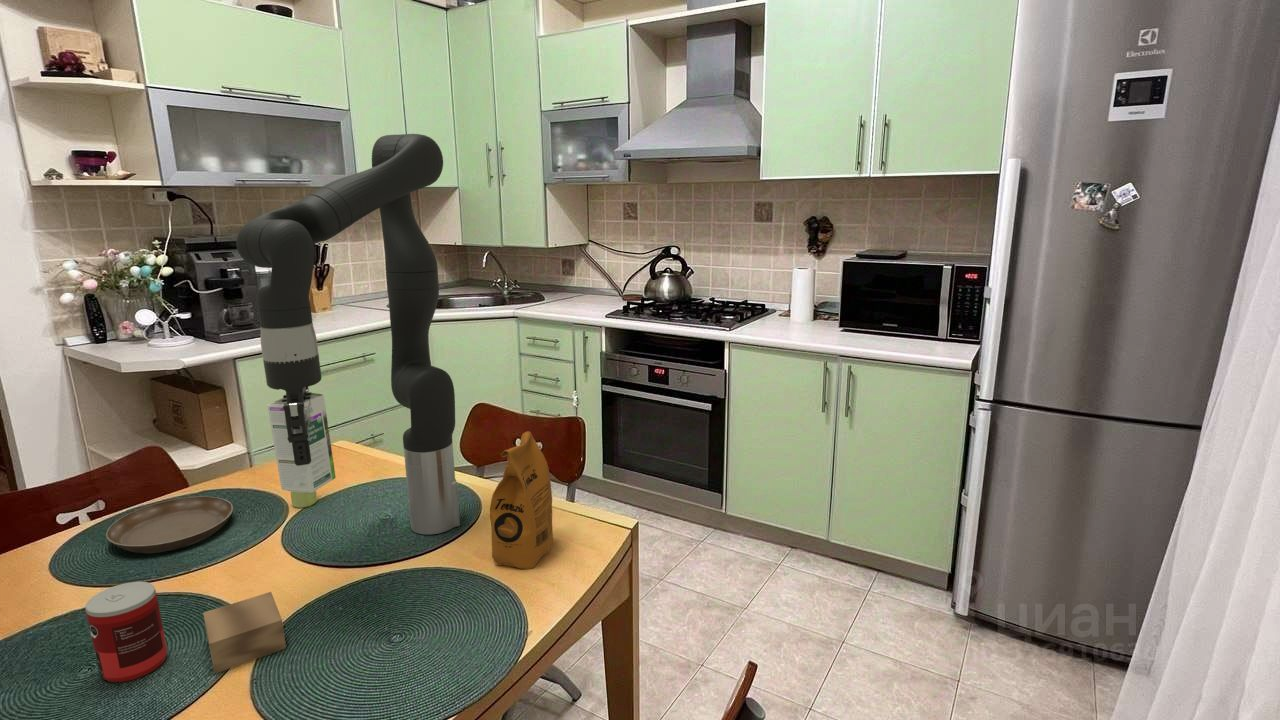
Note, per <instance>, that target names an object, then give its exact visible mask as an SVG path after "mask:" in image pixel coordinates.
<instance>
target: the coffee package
mask: <svg viewBox="0 0 1280 720" xmlns="http://www.w3.org/2000/svg"><path fill="white" fill-rule="evenodd" d="M500 457H501V458H506V461H507V463H508V464H507V465H506V466H505V469H504V472H503V475H502V479H501V480H500V481H499V482H498V483H497V486H496V488H495V489H494V491H493V493H492V496H491V500H490V506H489V520H490V521H489V523H490V529H491V558H492V560H493V561H494V563H495V564H496V565H498V566H502V565H504V566H508V567H511V568H512V567H513V568H516V569H519V570H522V569H525V570H529V569H530V570H531V569H533V568H535V567H536V565H537V564H538V563H539V561H540V559H541V558H542V557H544V556H546V555H547V554H549V552H550V550H551V546H552V544H553V542H554V533H553V492H552V484H551V476H550V469H549V464H548V461H547V459H546V458H545V455H544V453H543V452H542V450H541V449H540V447H539V444H538V443H537V441H536V439H534V437H533V435H532V433H531V431H529V430H528V431H525V432H523V433H522V435H521V436H520V442H519V445H517V446H513V447H510V448H509V449H508V448H507V449H505V450H503V452H502V453H501V454H500Z"/></svg>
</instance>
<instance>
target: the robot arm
mask: <svg viewBox="0 0 1280 720" xmlns="http://www.w3.org/2000/svg"><path fill="white" fill-rule="evenodd" d="M443 168H444V156H443V153H442V150H441V148H440V146H439V145H438V143H437V142H436V141H435V140H434V139H433V138H431V137H430V136H427V135H425V134H420V133H404V134H386V135H383V136H380V137H378V138H377V140H376V141H375V142H374V144H373V147H372V151H371V167H370V168H368V169H365V170H363V171H360V172H359V171H358V172H357V173H353V174H350V175H347V176H344V177H341V178H338V179H336V180H333V181H332V182H329V183H326V184H324V185H323V186H321V187H319V188H316V189H315V190H313V191H312V192H310V193H309V194H306V195H305V196H303V197H302V198H300V199H299V200H297V201H295V202H293V203H290V204H288V205H285V206H281V207H278V208H276V209H273V210H270V211H268V212H265V213H263V214H260V215H258V216H256V217H254V218H252V219H251V220H249V221H247V222H246V223H245V224H244V225H243V226H242V227H241V229H240V230H239V232H238V233H237V237H236V244H235V245H236V249H237V252H238V255H239V256H240V257H241V258H242V260H244V261H245V262H246V263H247V264H250V265H252V266H253V267H258V268H264V269H265V268H266V269H271V272H270V282H269V284H268V285H265V286H263V287H261V288H259V289H258V291H257V293H256V308H257V314H258V321H259V326H260V328H259V329H260V347H261V354H262V362H263V368H264V374H265V380H266V386H267V387H268V388H270V389H273V390H278V391H279V390H283V391H285V394H283V396H282V398H283V400H282V402H287V403H284V406H283V407H282V408H283V409H284V414H285V425H286V427H287V432H288V441H289V443H292V447H293V454H294V461H295V464H296V465H297V466H300V465H306V464H310V463H311V454H310V447H309V438H310V436H309V434H308V427H309V426H310V425H311V415H310V406H311V396H309V397H305V396H306V395H311V394H312V393H313V392H311V391H310V390H309V387H312V386H315V385H317V384H318V383H320V382H321V381H322V370H321V363H320V362H321V361H320V356H319V355H320V354H319V348H318V341H317V339H318V338H317V333H316V330H315V328H314V324H313V322H314V321H313V316H312V309H311V301H310V292H311V287H312V280H313V273H314V266H315V255H316V254H315V252H316V251H315V243H321V242H326V241H328V240H330V239H332V238H334V237H335V236H337V235H338V234H340V233H341V232H342V231H344V230H345V229H347V228H349V227H351V226H352V225H353V224H355V223H356V222H358V221H359V220H361V219H363V218H364V217H366V216H367V215H369V214H371V213H373V212H374V211H376V210H378V209H379V212H380V213H379V214H380V220H381V221H380V222H381V228H382V229H381V230H382V239H383V247H384V261H385V264H384V265H385V277H386V278H385V279H386V280H385V281H386V287H387V288H386V291H387V298H388V308H389V309H388V311H389V320H390V321H389V322H390V330H391V332H390V333H391V369H390V385H391V391H392V395H393V397H394V399H395V400H396V401H397V402H398V404H400V406H402V407H404V408H406V409H408V410H410V427H409V428H407V429H406V430H405V431H404V432H403V434H402V443H403V445H402V446H403V455H404V467H405V478H406V487H407V488H406V489H407V490H406V491H407V500H408V511H409V522H410V523H409V524H410V528H411V531H413V532H414V533H416V534H418V535H437V534H442V533H445V532H448V531H450V530H452V529H454V528H456V527H460V526H461V521H460V506H459V493H458V492H459V491H458V490H459V489H458V483H457V482H458V481H457V480H456V473H455V472H456V471H455V459H454V458H455V457H454V444H453V434H454V431H455V428H456V395H455V388H454V382H453V379H452V378H451V375H450V374H449V373H448V372H447V371H446V370H444V369H443V368H439V367H436V366H435V365H434V366H433V365H432V364H431V359H430V348H429V347H430V346H429V333H430V328H431V327H430V326H431V325H432V321H433V318H434V315H435V313H436V309H437V306H438V302H439V297H440V296H439V295H440V284H439V270H438V261H437V258H436V255H435V253H434V250H433V248H432V247H431V245H430V243H429V241H428V239H427V238H426V236H425V234H424V233H423V231H422V230H421V228H420V226H419V224H418V222H417V220H416V218H415V214H414V209H413V203H412V195H411V193H413V192H416V191H418V190H420V189H423V188H424V189H425V188H427V187H428V186H429V187H430V186H431V185H433V184H434V183H436V182H437V181H438V179H439V178H440V176H441V175H442V172H443ZM285 398H286V399H285ZM305 400H309V404H308V407H307V410H306V419H305V414H304V408H305V407H304V401H305ZM298 426H301V427H302V431H303V433H297V434H294V429H295V428H296V427H298Z"/></svg>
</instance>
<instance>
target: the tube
mask: <svg viewBox="0 0 1280 720" xmlns="http://www.w3.org/2000/svg"><path fill="white" fill-rule="evenodd" d="M290 498H291V505H292V507H294V508H297V509H298V508H308V507H311V506H312V505H315V504H316V503H317V501H318V495H317V490H316V491H315V492H314V493H305V492H292V491H290Z"/></svg>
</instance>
